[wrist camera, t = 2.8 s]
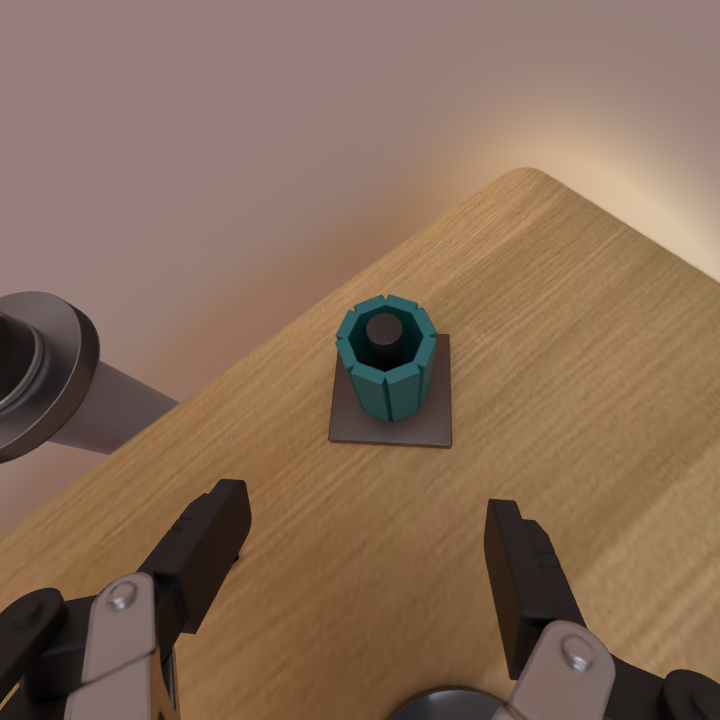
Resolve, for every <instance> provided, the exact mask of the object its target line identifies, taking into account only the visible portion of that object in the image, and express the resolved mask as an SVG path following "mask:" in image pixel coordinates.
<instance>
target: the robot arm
mask: <svg viewBox="0 0 720 720" xmlns="http://www.w3.org/2000/svg"><path fill="white" fill-rule="evenodd" d="M42 355H43V342H42V338H41V336H40V334H39V332H38V331H37V330H36V329H35V328H34V327H33V326H31V325H29V324H27V323H25V322H23V321H21V320H18V319H15V318H13V317H11V316H9V315H7V314H5V313H3V312H2V311H0V410H1V409H3V408H5V407H6V406H7V405H9V404H10V403H11V402H13V401H14V400H15V399H16V398H17V397H18V396H19V395H20V394H21V393H22V392H23V391H24V390H25V389H26V388H27V386H28V385H29V384H30V382H31V381H32V379H33V378H34V376H35V374H36V373H37V370H38V368H39V366H40V363H41V360H42ZM251 520H252V516H251V509H250V504H249V498H248V492H247V487H246V483H245V481H243V480H232V479H221V480H219V481H218V483H217V484H216V485H215V487H214V488H213V489H212V491H211V492H210V493H209V494H205V493H204V494H202V495H201V496H200V497H198V498H197V499H196V500H194V501H193V502H192V503H190V504H189V505H188V507H187V508H186V509H185V510H184V512H183V513H182V514H181V515H180V518H179V519H177V521H176V522H175V523H174V524H173V526H172V527H171V530H169V531H168V532H167V533H166V535H165V536H164V537H163V538H162V540H161V541H160V542H159V543H158V545H157V546H156V547H155V548H154V550H153V551H152V552H151V554H150V555H149V556H148V557H147V559H146V560H145V561H144V562H143V564H142V565H141V566H140V568H139V569H138V570H137V571H136V572H133V573H129V574H126V575H123V576H121V577H119V578H117V579H115V580H114V581H112V582H111V583H109V584H108V585H107V586H106V587H105V588H103V590H102V591H101V592H100V593H99V594H98V595H94V596H89V597H84V598H79V599H74V600H69V601H64V599H63V597H62V595H61V593H60V591H59V590H57V589H55V588H44V589H39V590H36V591H33V592H31V593H29V594H27V595H25V596H23V597H21V598H19V599H18V600H16V601H15V602H13V603H12V604H11V605H9V606H8V607H7V608H6V609H5V610H4V611H3V612H1V613H0V703H1V702H2V701H3V700H4V698H5V697H6V696H7V695H8V693H9V692H10V691H11V690H12V688H13V687H14V686H15V685H16V683H17V682H18V684H19V685H20V686H19V688H18V689H17V690H16V691H15V693H14V694H13V695H12V697H11V698H10V699H9V700H8V702H7V703H6V704H5V705H4V707H3V708H2V709H1V710H0V720H181V717H180V705H179V692H178V679H177V667H176V654H175V647H174V643H175V642H176V640H177V638H178V636H179V635H180V633H181V632H182V633H189V634H196V632H197V630H198V628H199V627H200V625H201V623H202V621H203V619H204V617H205V615H206V613H207V611H208V609H209V608H210V606H211V604H212V602H213V600H214V598H215V596H216V594H217V592H218V591H219V589H220V587H221V585H222V583H223V581H224V579H225V577H226V575H227V573H228V572H229V570H230V568H231V566H232V564H233V562H234V560H235V558H236V556H237V554H238V553H239V551H240V549H241V547H242V545H243V543H244V541H245V539H246V537H247V535H248V533H249V530H250V527H251ZM484 552H485V559H486V564H487V569H488V574H489V579H490V584H491V589H492V593H493V598H494V603H495V608H496V613H497V618H498V623H499V628H500V632H501V637H502V642H503V647H504V652H505V657H506V662H507V667H508V671H509V676H510V679H511V680H518V681H517V683H516V685H515V687H514V689H513V691H512V692H511V694H510V696H509V698H508V700H507V701H506V702H505V703H504V702H502V703H501V704H500V706H499V707H498V709H497V710H496V712H495V714H494V716H493V717H492V719H491V720H720V684H718V683H717V682H715V681H713V680H712V679H710V678H708V677H706V676H704V675H702V674H700V673H697V672H694V671H690V670H684V669H679V670H674V671H671V672H670V673H669V674H668V675H667V676H666V678H665V679H663V678H661V677H658V676H656V675H654V674H651V673H649V672H647V671H644V670H642V669H639V668H637V667H635V666H632V665H630V664H628V663H626V662H624V661H622V660H620V659H619V658H617V657H615V656H614V655H613V654H611V653H610V652H609V651H608V649H607V648H606V647H605V645H604V644H603V643H602V642H601V641H600V639H599V638H598V637H597V636H595V635H594V634H593V633H592V632H590V631H589V630H588V628H587V626H586V624H585V622H584V620H583V617H582V615H581V613H580V610H579V608H578V605H577V603H576V601H575V598H574V596H573V593H572V591H571V589H570V586H569V584H568V582H567V579H566V577H565V574H564V572H563V570H562V569H561V565H560V562H559V560H558V558H557V555H555V550H554V548H553V546H552V543H551V541H550V538H549V536H548V534H547V533H546V532H545V531H544V530H543V529H542V528H541V527H540V525H539V524H538V523H537V522H536V521H535V520H525V519H522V517H521V515H520V512H519V509H518V506H517V504H516V502H515V501H513V500H499V499H489V501H488V507H487V515H486V524H485V532H484Z"/></svg>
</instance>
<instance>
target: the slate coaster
mask: <svg viewBox="0 0 720 720" xmlns="http://www.w3.org/2000/svg"><path fill="white" fill-rule="evenodd" d="M502 702H504V701H503V700H501V699H499V698H497V697H495V696H493V695H491V694H488V693H485V692H482V691H479V690H476V689H472V688H466V687H442V688H436V689H432V690H429V691H426V692H423V693H421V694H419V695H417V696H415V697H413V698H411V699H410V700H408V701H407V702H406V703H404V704H403V705H402V706H400V707H399V708H398V709H397V710H396V711H395V712H394V713H393V714H392V715H391V716H390V717H389V718H388V719H387V720H491V719H492V717H493V716H494V714H495V712H496V710H497V709H498V707H499V706H500V704H501V703H502ZM504 703H505V702H504Z"/></svg>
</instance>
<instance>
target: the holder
mask: <svg viewBox="0 0 720 720" xmlns="http://www.w3.org/2000/svg"><path fill="white" fill-rule="evenodd" d="M366 332H367V337H368V342H369V346H370V351H371V355H372V360H373V366H372V367H373V368H375V369H378V370H381V371H383V372H387V371H389V370H392V369H394V368H397V367H399V366H402V365H404V364H405V363H403V329H402V324H401V321H400V320H399V319H398V318H397V317H396V316H394V315H392V314H388V313H382V314H378V315H376V316H374V317H373V318H372V319H371V320H370V321H369V322H368V324H367V328H366ZM436 339H437V343H436V350H435V356H434V362H433V369H432V375H431V381H430V387H429V390H428V392H427V395H426V397H425V400H424V402H423V405H422V407H421V408H419V407H418V408H417V413H414V414H412V415H409V416H407V417H404V418H402V419H399V420H397V421H393V419H392V416H391V417H390V419H389V421H385V420H383V419H381V418H378V417H376V416H373V415H371V414H368V413H366V412H365V409H364V408H361V406H360V403H359V401H358V398H357V396H356V393H355V391H354V388H353V386H352V384H351V381H350V379H349V376H348V374H347V371H346V369H345V366H344V364H343V361H342V359H341V356H340V353H339V351H338V354H337V363H336V372H335V381H334V390H333V400H332V409H331V418H330V427H329V436H328V440H329V441H330V442H336V443H355V444H373V445H392V446H411V447H430V448H448V449H450V448H451V446H452V426H451V385H450V344H449V334H437V335H436Z"/></svg>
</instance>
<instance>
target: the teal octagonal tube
mask: <svg viewBox="0 0 720 720" xmlns="http://www.w3.org/2000/svg"><path fill="white" fill-rule="evenodd" d="M354 309H355V312H354V311H351V310H349V311H348V312H347V314H346V316H345V318H344V320H343V322H342V324H341V326H340V328H339V330H338V332H337V334H336V337H337V340H338V341H336V342H335V343H336V346H337V348H338V351H339V353H340V356H341V359H342V361H343V364H344V366H345V369H346V371H347V374H348V376H349V379H350V381H351V384H352V386H353V388H354V391H355V393H356V396H357V398H358V401H359V403H360V406H361V408H364V409H365V412H366V413H368V414H371V415H373V416H376V417H378V418H381V419H383V420H385V421H389V419H390V417H391V416H392V419H393V421H397V420H399V419H402V418H404V417H407V416H409V415H412V414H414V413H417V408H418V407H419V408H421V407H422V405H423V402H424V400H425V397H426V395H427V392H428V390H429V387H430V381H431V375H432V369H433V362H434V356H435V350H436V343H437V339H436V335H437V332H436V330H435V328H434V326H433V324H432V322H431V321H430V319H429V317H428V315H427V313H426V311H425V310H424V308H423V307H421V308H419V309H418V303H416V302H412V301H409V300H406V299H403V298H399V297H396V296H393V295H388V297H387V299H386V301H385V299H384V297H383V295H380V296H377V297H375V298H372V299H369V300H367V301H364V302H362V303H359V304H357V305H354ZM382 313H388V314H392V315H394V316H396V317H397V318H398V319H399V320H400V321H401V324H402V329H403V363H405V364H404V365H402V366H399V367H397V368H394V369H392V370H389V371H387V372H383V371H381V370H378V369H375V368H373V367H372V366H373V360H372V355H371V351H370V346H369V342H368V337H367V332H366V328H367V324H368V322H369V321H370V320H371V319H372V318H373V317H374V316H376V315H378V314H382Z"/></svg>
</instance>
